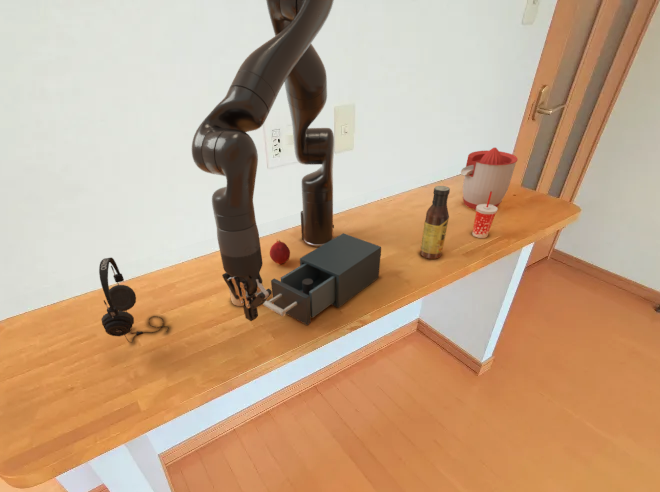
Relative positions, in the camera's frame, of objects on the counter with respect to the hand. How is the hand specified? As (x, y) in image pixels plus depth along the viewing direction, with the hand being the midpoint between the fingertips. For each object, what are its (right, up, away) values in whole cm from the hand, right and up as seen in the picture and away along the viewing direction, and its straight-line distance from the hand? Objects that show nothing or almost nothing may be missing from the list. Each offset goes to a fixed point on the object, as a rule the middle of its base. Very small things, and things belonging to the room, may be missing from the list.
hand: (251, 318), depth 82 cm
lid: (+12, +5, +13) cm, 19 cm away
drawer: (+11, +3, +13) cm, 18 cm away
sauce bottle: (+48, +19, +32) cm, 61 cm away
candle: (-5, +4, +18) cm, 19 cm away
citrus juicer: (+74, +41, +59) cm, 103 cm away
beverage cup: (+67, +26, +41) cm, 83 cm away
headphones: (-26, -4, +8) cm, 28 cm away
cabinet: (+21, +9, +22) cm, 31 cm away
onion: (+4, +16, +31) cm, 35 cm away
